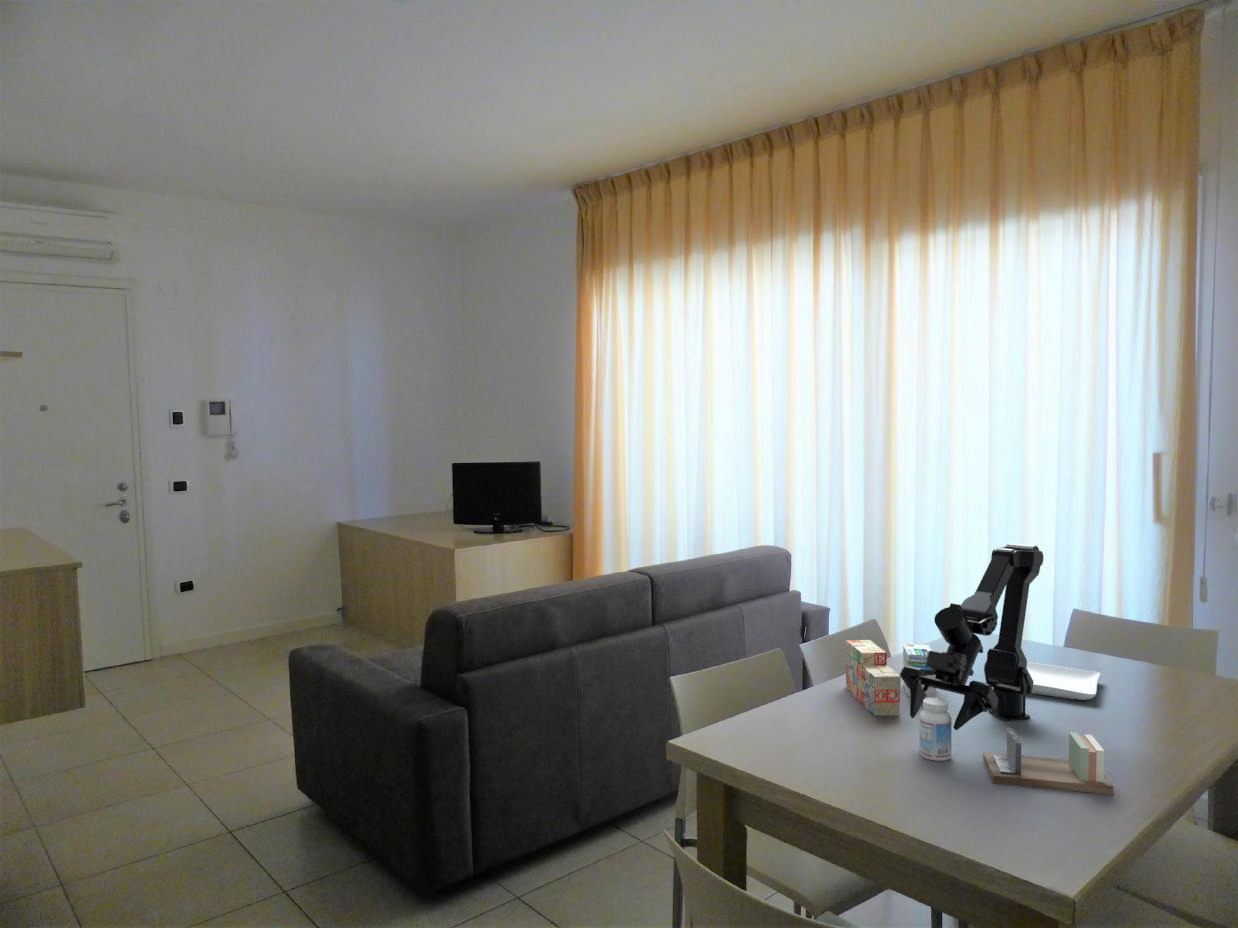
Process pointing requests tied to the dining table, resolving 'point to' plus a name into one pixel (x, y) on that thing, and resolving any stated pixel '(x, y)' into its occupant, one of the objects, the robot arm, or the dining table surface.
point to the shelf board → (1045, 775)
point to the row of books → (1086, 757)
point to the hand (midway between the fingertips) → (932, 722)
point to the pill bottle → (935, 730)
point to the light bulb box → (918, 664)
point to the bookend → (1010, 755)
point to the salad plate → (1063, 681)
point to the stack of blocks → (872, 678)
